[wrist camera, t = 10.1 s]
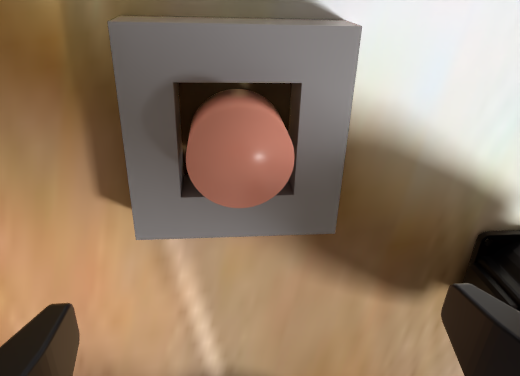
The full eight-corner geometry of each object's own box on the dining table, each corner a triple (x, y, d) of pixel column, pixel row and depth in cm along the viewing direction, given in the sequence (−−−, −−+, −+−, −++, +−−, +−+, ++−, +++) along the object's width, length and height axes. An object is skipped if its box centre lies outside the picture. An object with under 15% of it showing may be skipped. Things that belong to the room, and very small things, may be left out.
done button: (286, 88, 19) (298, 108, 16) (281, 176, 21) (291, 206, 18) (187, 88, 18) (182, 108, 16) (191, 178, 20) (188, 209, 18)
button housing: (344, 19, 19) (362, 26, 17) (323, 209, 24) (335, 233, 21) (120, 15, 18) (107, 21, 16) (143, 213, 23) (135, 239, 20)
